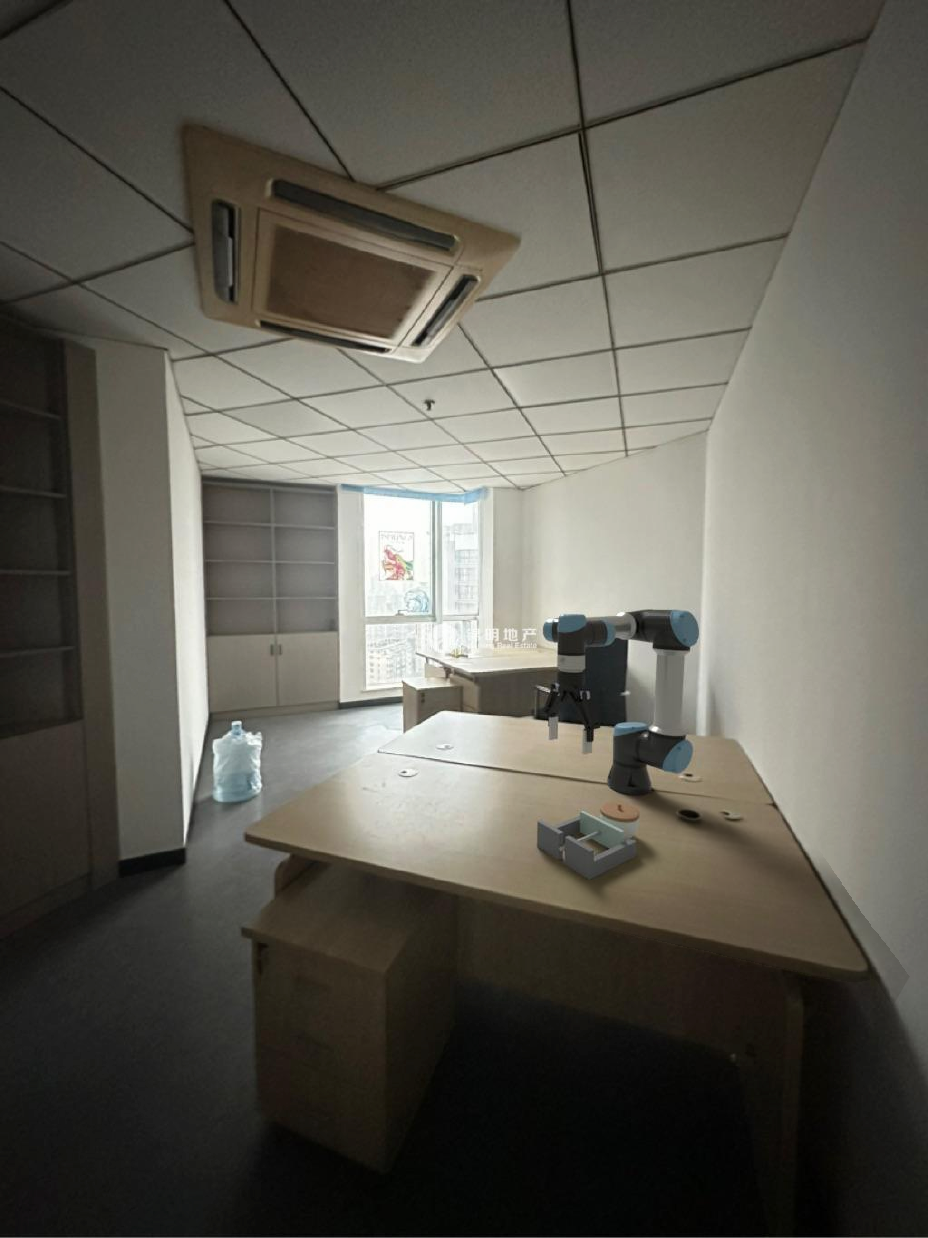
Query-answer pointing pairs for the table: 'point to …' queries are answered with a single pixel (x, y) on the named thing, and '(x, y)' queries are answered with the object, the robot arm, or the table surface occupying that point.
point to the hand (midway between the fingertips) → (569, 746)
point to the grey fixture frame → (580, 849)
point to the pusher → (599, 831)
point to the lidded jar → (621, 817)
